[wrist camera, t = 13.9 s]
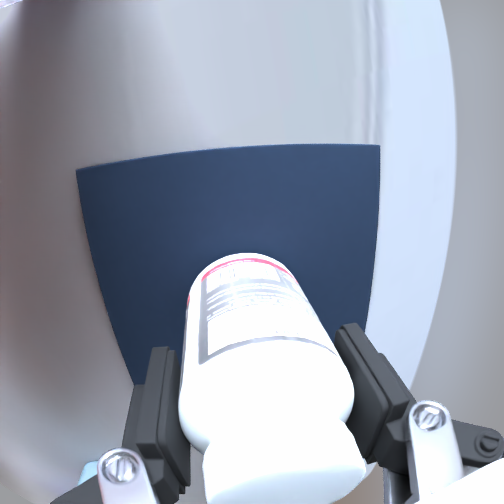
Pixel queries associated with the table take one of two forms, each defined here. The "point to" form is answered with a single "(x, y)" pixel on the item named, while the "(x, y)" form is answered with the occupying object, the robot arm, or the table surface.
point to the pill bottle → (264, 389)
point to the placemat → (229, 231)
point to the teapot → (8, 2)
